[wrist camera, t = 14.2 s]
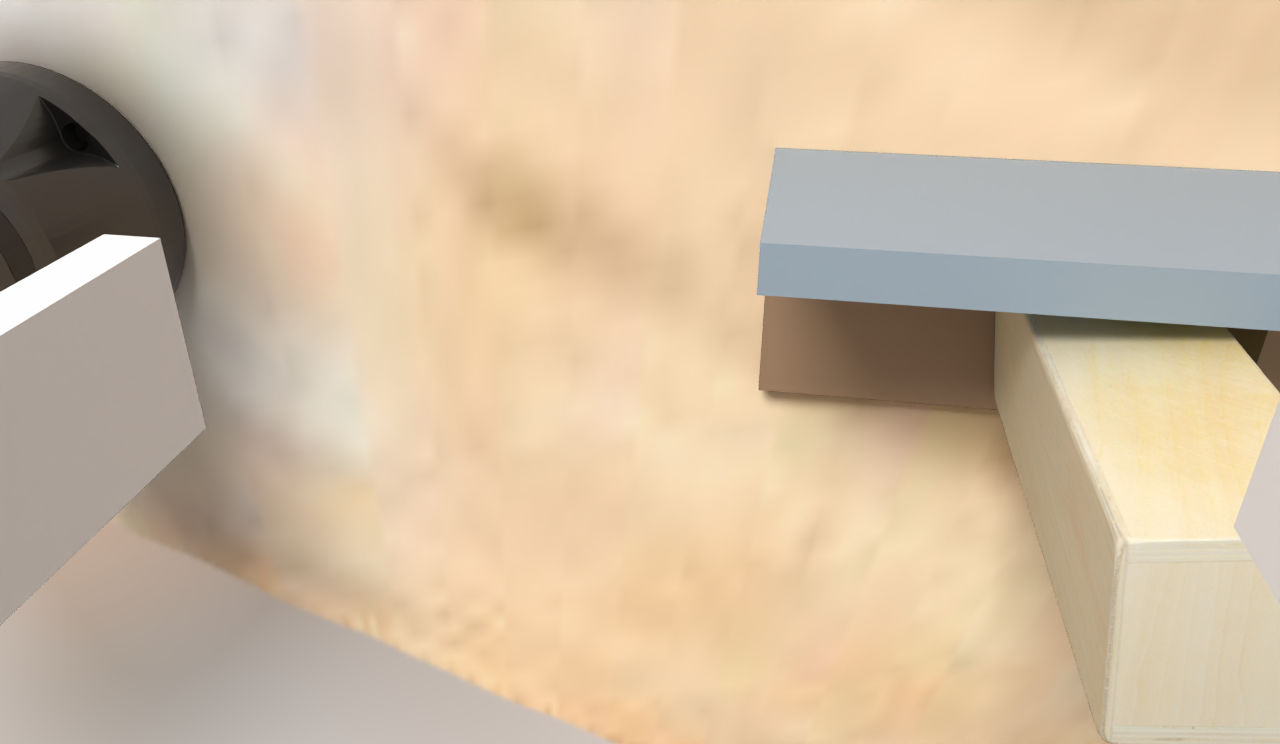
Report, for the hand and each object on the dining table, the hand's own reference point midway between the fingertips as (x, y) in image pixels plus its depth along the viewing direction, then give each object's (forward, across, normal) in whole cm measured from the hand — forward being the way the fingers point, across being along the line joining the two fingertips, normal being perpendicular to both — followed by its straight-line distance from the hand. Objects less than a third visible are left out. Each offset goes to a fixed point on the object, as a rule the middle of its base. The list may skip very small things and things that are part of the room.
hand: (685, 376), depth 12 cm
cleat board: (+35, +11, -13) cm, 39 cm away
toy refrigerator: (+34, +14, -14) cm, 39 cm away
